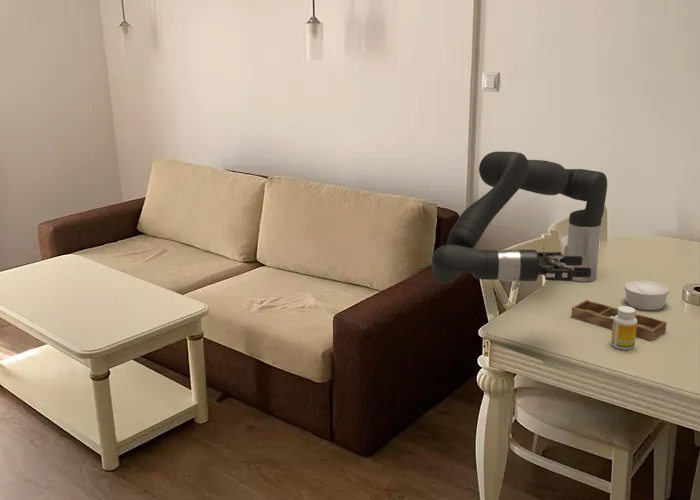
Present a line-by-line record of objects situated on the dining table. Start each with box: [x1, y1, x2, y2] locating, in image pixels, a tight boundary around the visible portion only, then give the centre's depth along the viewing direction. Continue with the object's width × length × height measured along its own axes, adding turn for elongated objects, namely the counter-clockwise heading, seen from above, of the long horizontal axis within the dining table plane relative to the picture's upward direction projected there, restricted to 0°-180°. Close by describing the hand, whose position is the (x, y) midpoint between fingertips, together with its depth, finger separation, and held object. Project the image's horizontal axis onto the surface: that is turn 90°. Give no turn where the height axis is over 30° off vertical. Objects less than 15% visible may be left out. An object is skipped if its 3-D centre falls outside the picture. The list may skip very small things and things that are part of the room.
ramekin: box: [624, 280, 670, 311], centre depth 198 cm, size 11×11×5 cm
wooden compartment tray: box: [570, 299, 667, 342], centre depth 185 cm, size 22×8×3 cm, turn 44°
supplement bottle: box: [610, 305, 637, 351], centre depth 172 cm, size 5×5×10 cm
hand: (586, 266), depth 168 cm, fingers open, 8 cm apart
